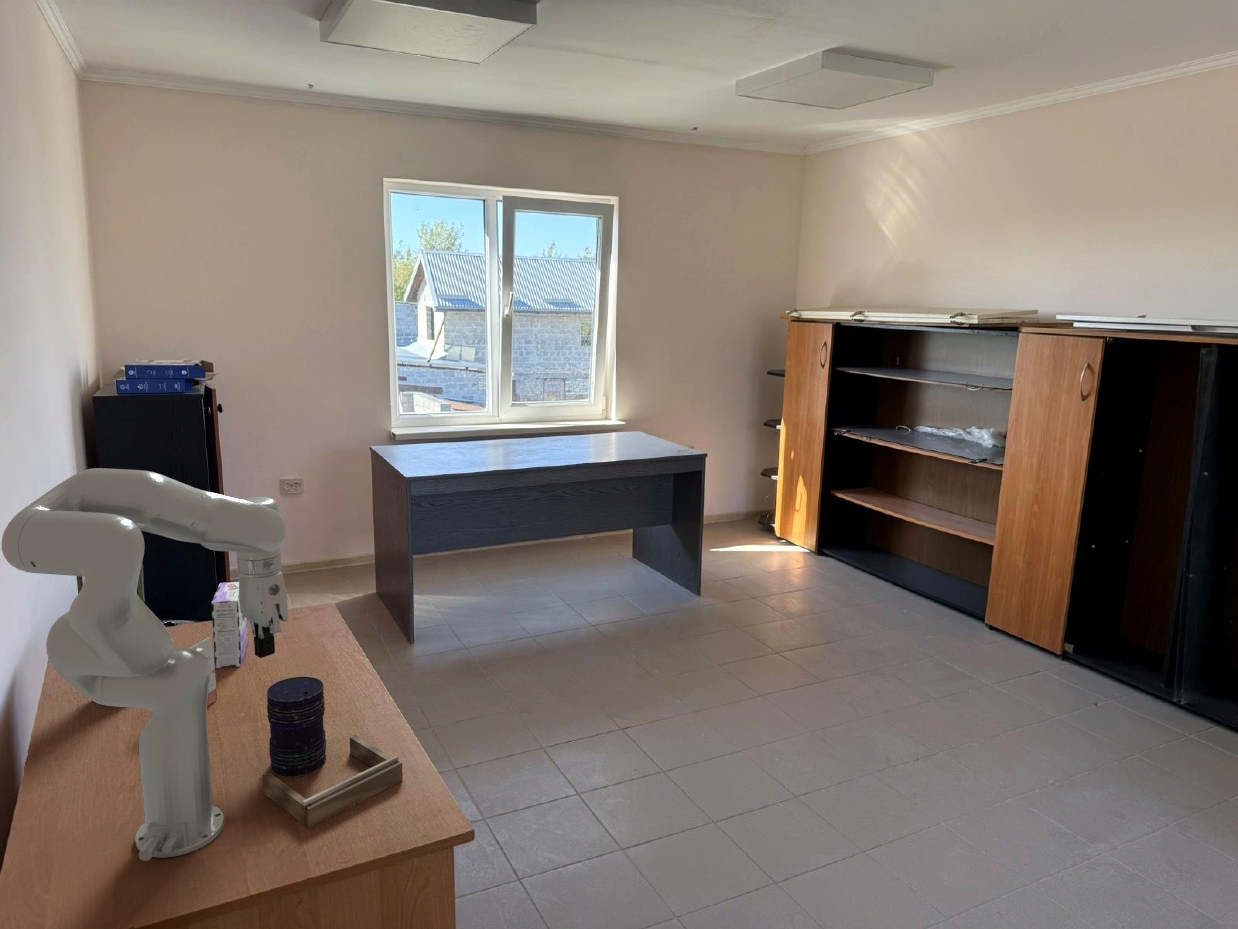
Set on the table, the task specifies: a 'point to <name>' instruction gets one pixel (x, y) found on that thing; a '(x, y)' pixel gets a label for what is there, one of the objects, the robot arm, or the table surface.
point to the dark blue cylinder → (296, 726)
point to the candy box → (228, 627)
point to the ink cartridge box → (209, 654)
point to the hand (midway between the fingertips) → (265, 654)
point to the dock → (338, 786)
